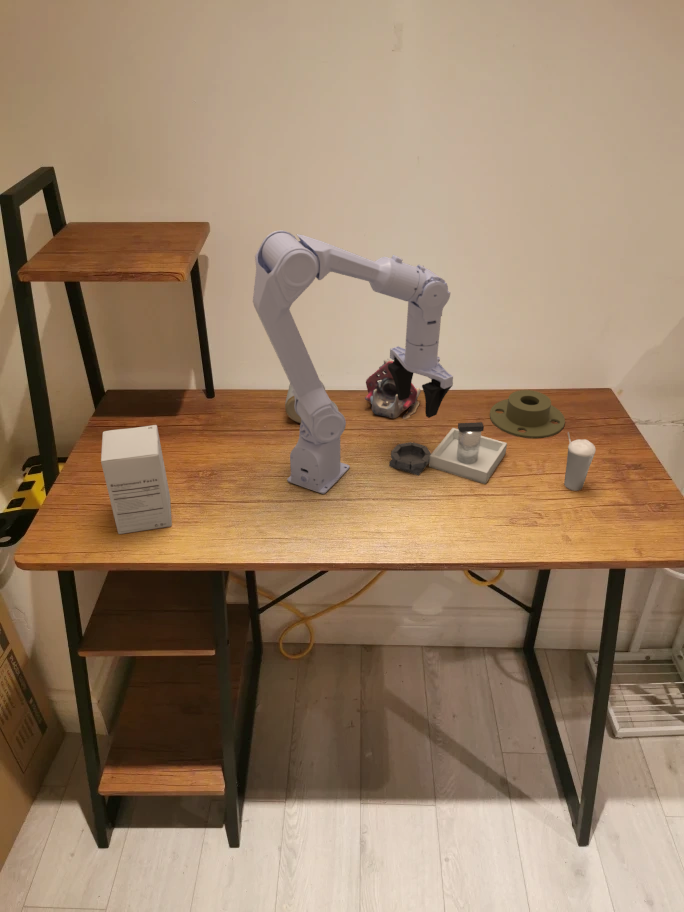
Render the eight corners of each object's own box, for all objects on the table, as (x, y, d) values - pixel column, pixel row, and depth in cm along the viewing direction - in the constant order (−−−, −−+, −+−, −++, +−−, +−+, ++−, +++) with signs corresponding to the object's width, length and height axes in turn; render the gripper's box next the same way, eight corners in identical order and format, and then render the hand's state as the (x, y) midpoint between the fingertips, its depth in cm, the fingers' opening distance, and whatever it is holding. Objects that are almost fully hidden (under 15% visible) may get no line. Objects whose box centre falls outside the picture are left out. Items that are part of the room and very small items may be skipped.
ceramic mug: (284, 425, 146) (283, 392, 142) (289, 404, 153) (288, 372, 148) (336, 427, 145) (336, 394, 141) (339, 407, 152) (340, 374, 148)
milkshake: (565, 473, 132) (575, 426, 126) (591, 485, 129) (602, 438, 123) (551, 483, 129) (561, 436, 124) (578, 496, 126) (589, 449, 121)
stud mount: (420, 477, 131) (420, 468, 130) (385, 466, 134) (385, 457, 133) (435, 458, 136) (436, 449, 135) (401, 448, 139) (402, 438, 138)
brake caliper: (352, 407, 147) (367, 350, 147) (368, 415, 157) (382, 362, 157) (405, 419, 143) (420, 361, 143) (417, 426, 153) (431, 372, 153)
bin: (485, 484, 129) (486, 472, 128) (428, 466, 134) (429, 455, 132) (505, 453, 137) (507, 443, 136) (451, 438, 142) (452, 427, 140)
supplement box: (118, 502, 125) (101, 429, 117) (170, 495, 127) (157, 423, 119) (116, 535, 118) (98, 461, 110) (172, 527, 120) (159, 453, 111)
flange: (484, 411, 142) (562, 426, 137) (500, 377, 153) (572, 390, 149) (482, 431, 145) (558, 446, 140) (497, 396, 156) (568, 409, 151)
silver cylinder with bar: (457, 464, 133) (461, 431, 129) (453, 452, 137) (456, 419, 133) (481, 463, 134) (485, 430, 129) (476, 451, 137) (480, 418, 133)
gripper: (468, 348, 122) (460, 416, 130) (411, 319, 132) (407, 385, 139) (438, 359, 119) (431, 428, 126) (382, 329, 128) (379, 395, 136)
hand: (417, 406), depth 133 cm, fingers open, 7 cm apart
